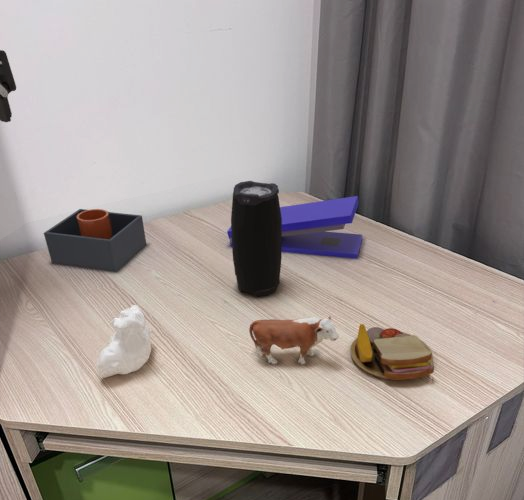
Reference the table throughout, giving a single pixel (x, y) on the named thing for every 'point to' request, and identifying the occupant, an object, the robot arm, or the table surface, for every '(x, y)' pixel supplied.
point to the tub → (96, 243)
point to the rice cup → (95, 224)
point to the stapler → (319, 228)
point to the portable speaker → (256, 237)
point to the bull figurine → (291, 335)
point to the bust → (126, 344)
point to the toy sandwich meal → (391, 354)
